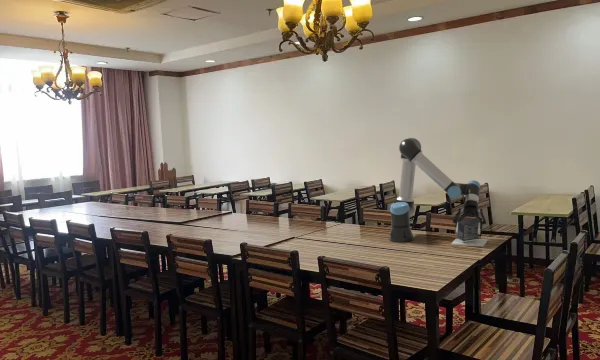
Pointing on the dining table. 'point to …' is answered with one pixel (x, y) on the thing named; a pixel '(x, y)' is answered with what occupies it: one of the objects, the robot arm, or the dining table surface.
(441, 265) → the dining table surface
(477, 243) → the mat
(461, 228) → the small box
